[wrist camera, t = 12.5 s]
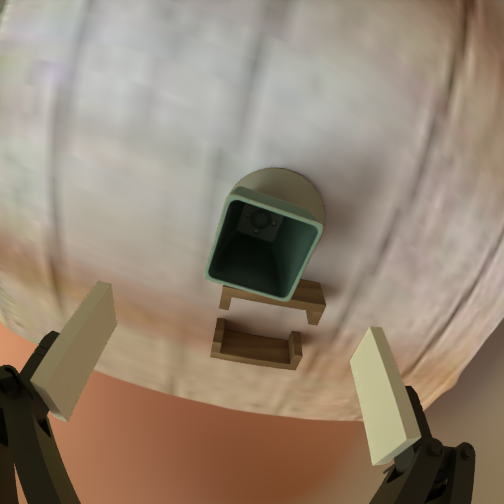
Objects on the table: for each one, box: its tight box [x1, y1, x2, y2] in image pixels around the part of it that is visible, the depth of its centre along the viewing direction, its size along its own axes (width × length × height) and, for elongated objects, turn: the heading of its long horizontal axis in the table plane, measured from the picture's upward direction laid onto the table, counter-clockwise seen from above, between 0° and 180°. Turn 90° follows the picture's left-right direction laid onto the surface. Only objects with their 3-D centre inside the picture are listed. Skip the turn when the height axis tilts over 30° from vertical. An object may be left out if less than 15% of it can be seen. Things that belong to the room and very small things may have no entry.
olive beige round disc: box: [230, 168, 325, 233], centre depth 34 cm, size 12×12×1 cm
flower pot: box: [204, 186, 324, 302], centre depth 30 cm, size 9×9×9 cm
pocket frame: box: [210, 279, 326, 370], centre depth 39 cm, size 13×13×5 cm
